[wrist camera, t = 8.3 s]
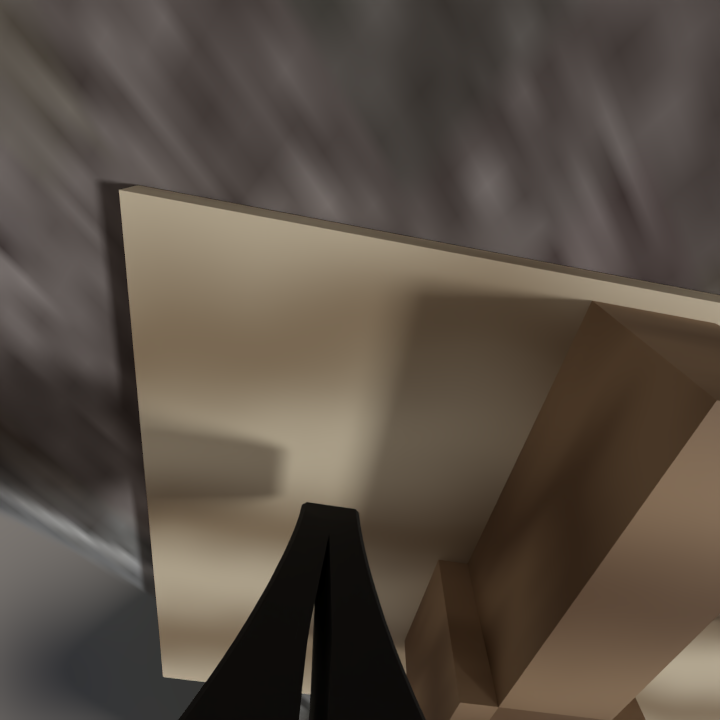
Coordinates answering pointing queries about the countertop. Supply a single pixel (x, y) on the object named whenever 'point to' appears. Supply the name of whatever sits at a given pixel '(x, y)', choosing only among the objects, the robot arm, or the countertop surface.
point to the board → (344, 406)
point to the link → (588, 537)
